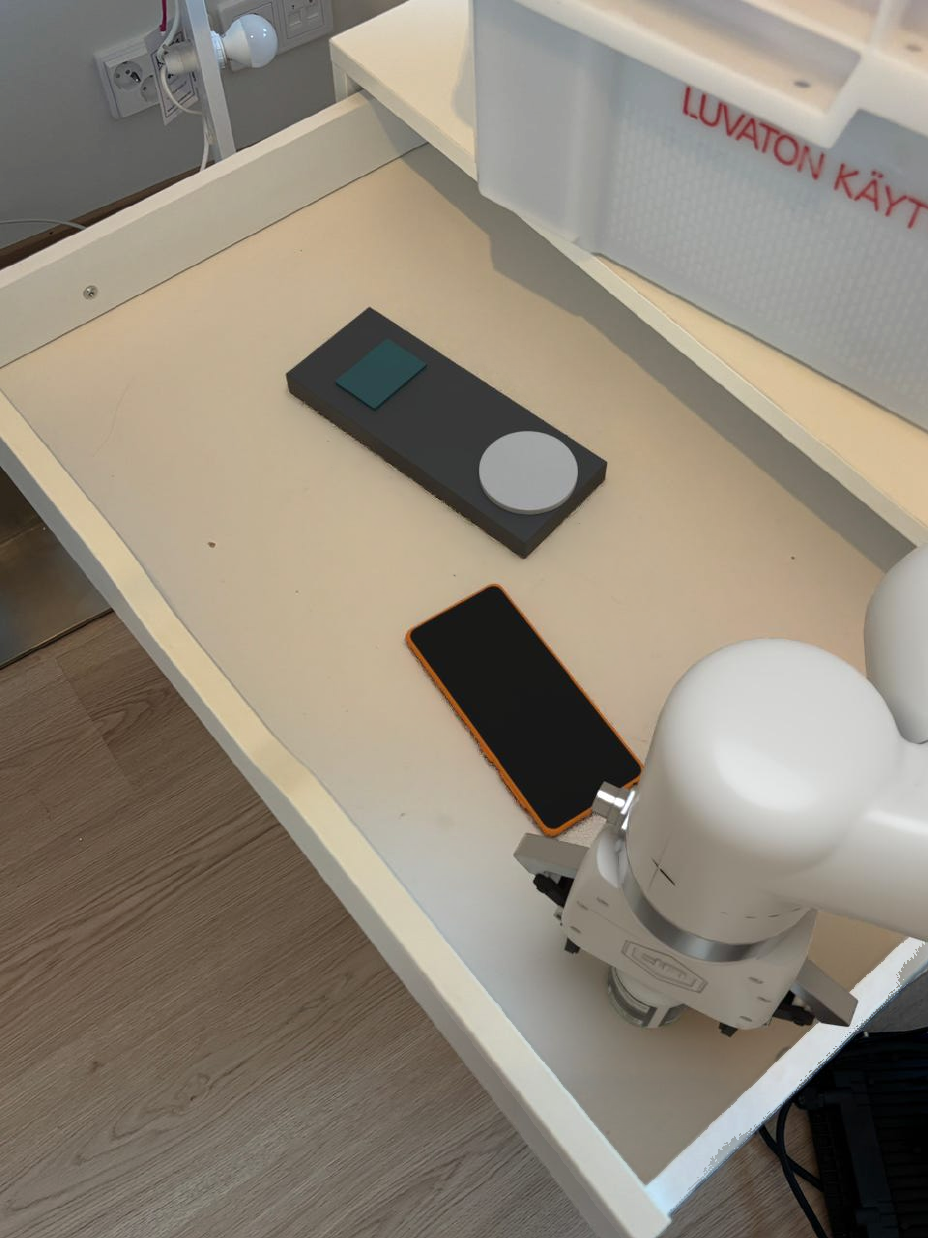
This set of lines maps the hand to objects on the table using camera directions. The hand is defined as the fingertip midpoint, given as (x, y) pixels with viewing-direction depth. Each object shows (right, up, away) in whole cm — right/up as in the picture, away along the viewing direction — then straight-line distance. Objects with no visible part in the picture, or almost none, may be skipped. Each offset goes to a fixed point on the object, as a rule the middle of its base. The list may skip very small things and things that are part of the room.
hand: (657, 966), depth 60 cm
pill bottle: (0, -2, +4) cm, 5 cm away
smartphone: (-7, +13, +13) cm, 19 cm away
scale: (-12, +32, +24) cm, 41 cm away
